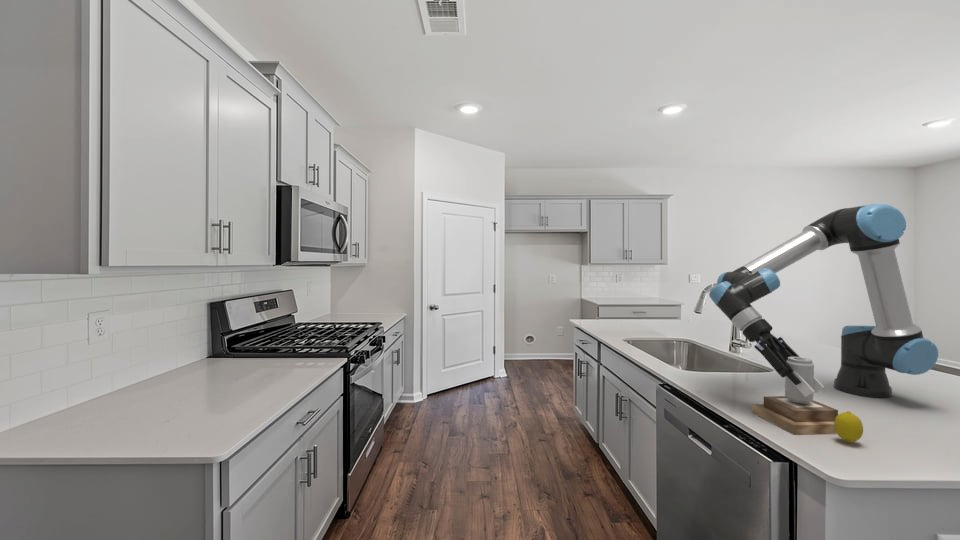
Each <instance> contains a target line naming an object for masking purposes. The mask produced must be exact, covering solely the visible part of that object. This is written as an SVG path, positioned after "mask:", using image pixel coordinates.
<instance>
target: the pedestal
mask: <svg viewBox="0 0 960 540" xmlns="http://www.w3.org/2000/svg"><path fill="white" fill-rule="evenodd" d="M751 413H752V414H753V415H756V416H758V417H760V418H761V419H764V420H765V421H767V422H769V423H771V424H773V425H775V426H777V427H779V428H781V429H783V430H784V431H787V432H788V433H790V434H791V435H831V434H835V435H836V434H837V433H836V431H835V428H834V423H835V419H836V417H837V415H839V410H838V409H836V408H834V407H832V406H829V405H826V404H824V403H821V402H819V401H816V400H814V399H813V401H811V402H810V403H797V402H793V401H790V400H789V399H788V398H787V397H785V395H784V396H783V395H781V396H779V395H777V396H776V395H775V396H771V395H770V396H763V403H758V404H757V403H756V404H755V403H754V404H752V406H751ZM837 435H838V434H837Z"/></svg>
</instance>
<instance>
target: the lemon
mask: <svg viewBox="0 0 960 540" xmlns="http://www.w3.org/2000/svg"><path fill="white" fill-rule="evenodd" d="M863 425H864V424H863V422H862V421H861V418H859V416H857V415H856V414H854V413H852V411H844V412H840V413H838V415H837V417H836V419H835V423H834V428H835V431H836V433H837V436H838V437H839V438H841V440H844V441H845V443H848V444H850V443H852V442H856V441H859V440H860V439H861V438H862V436H863V433H864V426H863Z"/></svg>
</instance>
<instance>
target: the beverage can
mask: <svg viewBox="0 0 960 540" xmlns="http://www.w3.org/2000/svg"><path fill="white" fill-rule="evenodd" d="M786 362H787V363H788V364H789V366H790V367H791V368H792V370H793V372H794V371H795V372H796V373H797V374H798V375H799V376H801V377H802V378H803V379H804V380H805V381H806V382H807V384H808V385H809V386H810V387H811V388H812V389H813V385H814V377H815V364H814V363H813V359H812V358H807V357H802V356H799V357H788V360H787V361H786ZM784 378H785V380H784V381H785V385H784V386H785V388H784V396H785V397H787V398H788V399H789V400H790V401H793V402H797V403H810V402H811V401H813V400H814V392H813V393H811V394H810V395H808V396H806V397H805V396H804V395H803V394H802V393H801V392H800V391H799V390H798V389H797V387H796V386H795V385H794V384H793V383H792V382H791V381H790V380H789V379H788V378H787V377H786V376H785V377H784Z"/></svg>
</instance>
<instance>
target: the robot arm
mask: <svg viewBox="0 0 960 540" xmlns="http://www.w3.org/2000/svg"><path fill="white" fill-rule="evenodd" d="M906 229H907V222H906V217H905V216H904V214H903V213H902V212H901V211H900V210H899V209H898V208H897V207H894V206H892V205H890V204H884V203H879V204H876V203H875V204H873V203H872V204H867V205H866V204H865V205H861V206H853V207H845V208H840V209H837V210H835V211H832V212H829V213H827V214H826V215H824V216H822V217H820V218H818V219H816V220H815V221H813V222H811V223H810V224H808V225H806V226H804V227H803V229H802V232H800V233H798V234H796V235H795V236H793V237H791V238H789V239H787V240H786V241H784V242H783V243H781V244H779V245H777V246H776V247H774V248H772V249H770V250H769V251H767V252H765V253H763V254H761V255H760V256H758V257H756V258H754V259H752V260H751V261H749V262H747V263H745V264H744V265H742V266H740V267H738V268H736V269H735V270H733V271H727V272H723V273H721V274H720V275H719V276H718V277H717V281H716V285H715V286H713V288H712V289H710V290H709V293H708V294H709V298H710V299H711V301H712V302H713V303H714V304H715V306H716V307H717V308H718V309H719V310H720V311H721V312H722V313H723V314H724V316H725V317H727V318H728V320H729V321H730V322H732V324H733V327H735V328H737V329H738V330H739V331H740V332H742V335H743V336H744V337H745V338H746V339H747V340H748V342H750V343H755V342H756V345H754V346H753V347H754V348H755V350H756V351H758V352H759V353H760V354H761V355H762V356H763V358H765V360H766V361H767V362H768V363H769V365H770V366H771V367H772V368H773V369H774V370H775V372H776V373H777V374H778V375H779V376H780V377H781V378H786V377H787V378H788V379H789V380H790V381H791V382H792V383H793V384H794V385H795V386H796V387H797V389H798V390H799V391H800V392H801V393H802V394H803V395H804V396H805V397H806V396H808V395H810V394H811V393H813V394H814V393H817V392H819V391H821V390H823V389H825V386H824V385H823V384H822V383H821V381H819V380H818V379H817V378H816V377H815V376H814V385H813V389H812V388H811V387H810V386H809V385H808V384H807V382H806V381H805V380H804V379H803V378H802V377H801V376H799V375H798V374H797V373H796V372H795V371H794V372H793V370H792V368H791V367H790V366H789V364H788V363H787V362H786V361H787V360H788V357H800V355H799V354H798V353H797V352H795V350H793V349H792V347H791V346H789V345H788V343H786V341H785V340H784V339H783V337H781V336H779V337H776V336H774V335H773V334H772V333H771V332H772V330H773V326H772V325H771V324H770V323H769V322H768V321H767V320H766V319H765V318H763V316H762V315H761V313H760V312H759V311H758V310H756V308H755V307H754V306H753V305H751V304H752V303H754V302H756V301H758V300H760V299H761V298H764V297H766V296H768V295H770V294H772V293H773V292H775V291H776V290H777V289H778V288H780V287H781V281H780V278H779V276H778V275H777V273H779V272H780V271H782V270H783V269H785V268H788V267H790V266H791V265H793V264H795V263H796V262H799V261H800V260H802V259H804V258H805V257H808V256H809V255H811V254H813V253H814V252H816V251H824V250H826V249H828V248H829V247H832V246H835V245H839V244H840V245H841V244H848V245H849V246H848V247H849V250H850V252H851V253H853V254H854V255H857V257H858V260H859V264H860V268H861V271H862V275H863V280H864V284H865V289H866V292H867V295H868V299H869V303H870V307H871V311H872V316H873V319H874V322H875V323H874V324H875V325H845V326H843V327H842V331H841V336H840V338H841V339H840V340H841V343H840V346H841V347H840V349H841V350H840V357H841V358H840V360H841V361H840V368H839V369H838V372H837V376H836V377H835V378H834V380H833V383H834V384H833V387H834V389H836V390H837V391H838V390H839V391H841V392H843V393H844V392H845V393H848V394H852V395H857V396H862V397H863V396H864V397H869V398H871V397H872V398H890V397H892V396H893V389H892V386H890V382H889V378H888V376H887V372H886V369H888V370H892V371H896V372H898V373H901V374H907V375H912V376H917V375H919V376H920V375H922V374H925V373H927V372H928V371H931V370H932V368H933V367H934V366H935V365H936V363H937V361H938V359H939V349H938V347H937V345H936V344H935V343H934V342H932V341H931V340H930V339H928V338H925V337H924V335H923V331H922V328H921V327H920V326H918V325H917V324H914V323H913V318H912V315H911V310H910V307H909V302H908V300H907V299H908V298H907V295H906V291H905V286H904V283H903V279H902V275H901V269H900V265H899V262H898V258H897V256H896V251H895V249H896V248H897V247H898V246H900V238H901V237H902V236H903V235H904V233H905V232H904V231H905V230H906Z"/></svg>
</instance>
